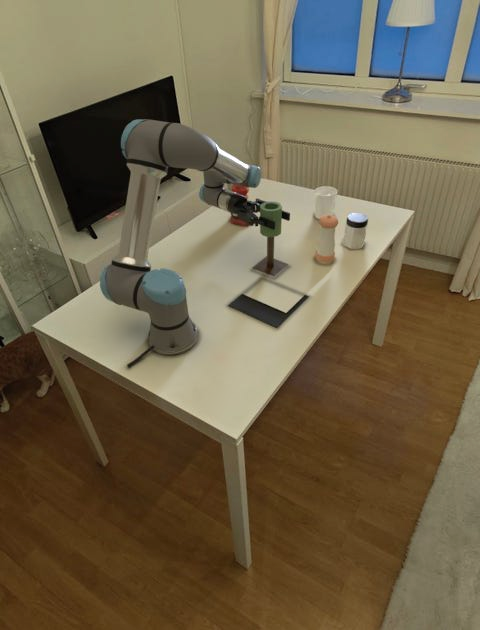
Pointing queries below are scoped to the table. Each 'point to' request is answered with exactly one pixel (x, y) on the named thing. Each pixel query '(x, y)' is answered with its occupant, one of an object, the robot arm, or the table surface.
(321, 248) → the pepper shaker
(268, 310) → the placemat
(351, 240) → the jar
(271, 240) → the peg stand
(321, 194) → the candle holder
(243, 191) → the stacking bear
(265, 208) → the hollow cylinder
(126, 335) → the table surface
